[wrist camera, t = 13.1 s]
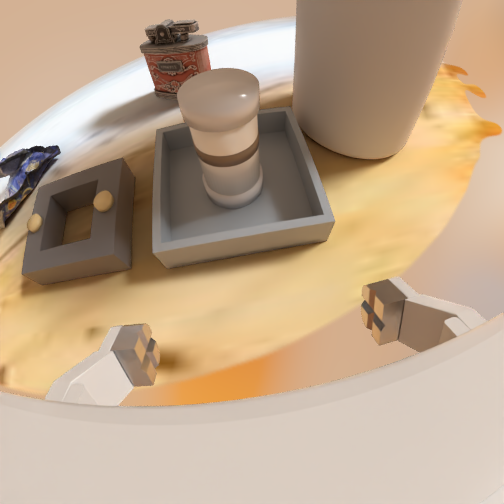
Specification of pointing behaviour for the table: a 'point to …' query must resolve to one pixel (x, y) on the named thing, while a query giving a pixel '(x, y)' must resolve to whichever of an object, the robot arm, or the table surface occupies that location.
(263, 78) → the table surface
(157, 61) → the lighter
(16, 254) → the table surface
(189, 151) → the tray
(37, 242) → the block
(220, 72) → the ball
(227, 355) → the table surface
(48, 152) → the snack package
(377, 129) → the cylinder vase
